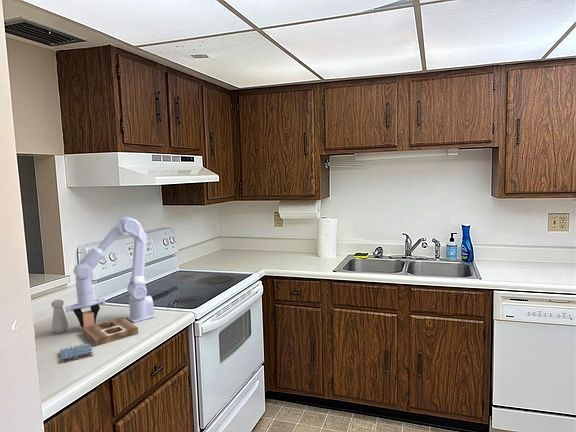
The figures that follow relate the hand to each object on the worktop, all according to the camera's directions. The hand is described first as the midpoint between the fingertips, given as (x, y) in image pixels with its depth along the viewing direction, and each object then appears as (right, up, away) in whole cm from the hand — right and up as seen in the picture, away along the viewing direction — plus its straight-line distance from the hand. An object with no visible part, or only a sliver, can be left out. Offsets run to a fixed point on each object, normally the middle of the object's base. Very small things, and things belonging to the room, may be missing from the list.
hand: (88, 324), depth 173 cm
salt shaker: (-11, -3, -1) cm, 11 cm away
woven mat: (+7, -5, -23) cm, 24 cm away
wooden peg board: (+12, -2, -6) cm, 13 cm away
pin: (0, -2, 0) cm, 2 cm away
